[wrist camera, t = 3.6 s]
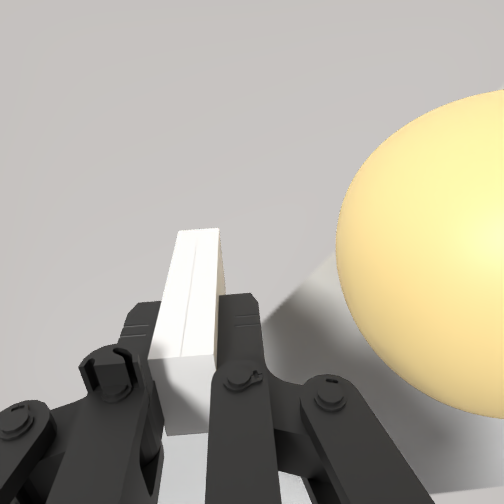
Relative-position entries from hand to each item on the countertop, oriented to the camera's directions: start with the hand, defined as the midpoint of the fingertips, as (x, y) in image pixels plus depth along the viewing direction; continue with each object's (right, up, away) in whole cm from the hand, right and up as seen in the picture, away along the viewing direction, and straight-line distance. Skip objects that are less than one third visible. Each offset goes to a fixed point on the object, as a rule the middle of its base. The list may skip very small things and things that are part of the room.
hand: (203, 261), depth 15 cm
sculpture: (+11, +3, +4) cm, 12 cm away
